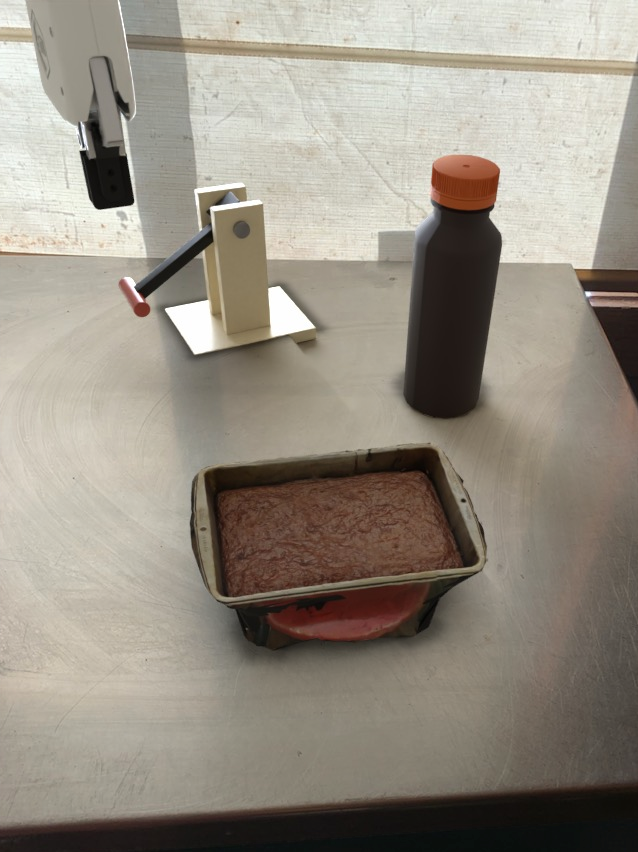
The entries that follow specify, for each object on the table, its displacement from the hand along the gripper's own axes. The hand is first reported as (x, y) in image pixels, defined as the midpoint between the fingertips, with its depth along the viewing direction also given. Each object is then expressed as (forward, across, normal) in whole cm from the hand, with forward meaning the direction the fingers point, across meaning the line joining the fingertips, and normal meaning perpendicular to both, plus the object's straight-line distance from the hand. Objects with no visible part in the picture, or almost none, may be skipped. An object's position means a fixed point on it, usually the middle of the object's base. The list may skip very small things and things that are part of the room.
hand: (112, 203), depth 64 cm
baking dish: (+13, +34, +4) cm, 37 cm away
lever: (+6, 0, +6) cm, 9 cm away
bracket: (+13, 0, +10) cm, 17 cm away
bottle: (+13, +18, +22) cm, 31 cm away
